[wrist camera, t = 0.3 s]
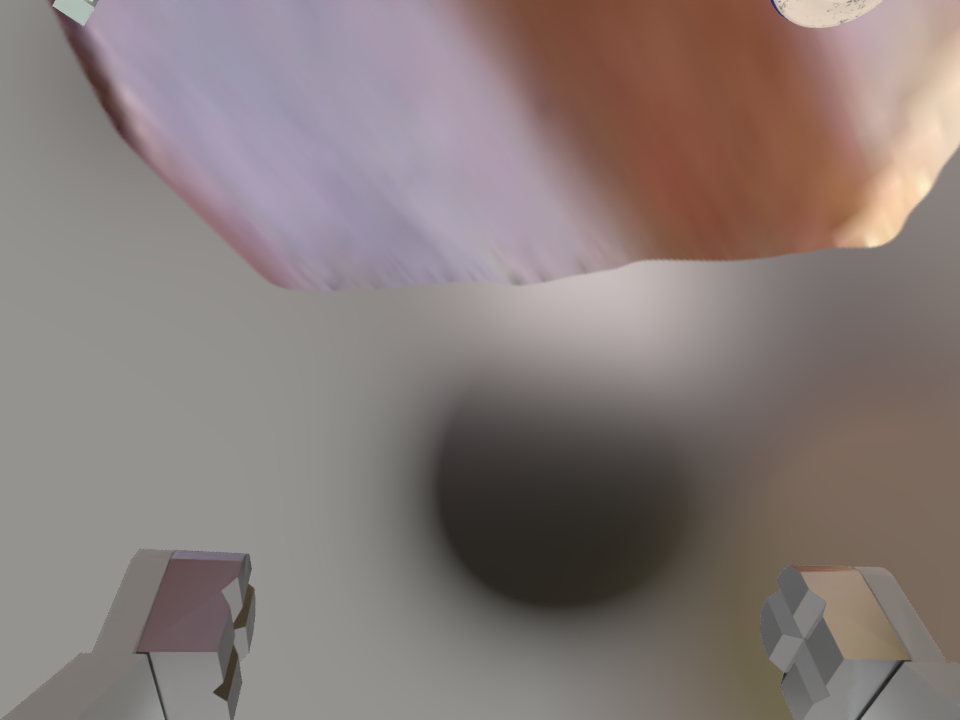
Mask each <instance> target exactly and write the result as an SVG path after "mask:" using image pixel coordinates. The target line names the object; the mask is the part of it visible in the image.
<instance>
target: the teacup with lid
mask: <svg viewBox="0 0 960 720" xmlns="http://www.w3.org/2000/svg"><path fill="white" fill-rule="evenodd" d="M882 1H883V0H771V2H772V4H773V6H774V8H775V9H776V10H777V11H778V13H779V14H780V15H781V16H783V17H784V18H785V19H787V20H789V21H790V22H793V23H795V24H797V25H800V26H804V27H809V28H826V27H833V26H837V25H841V24H844V23H847V22H849V21H852V20H854V19H856V18H858V17H860V16H862V15H864V14H865V13H867V12H868V11H870V10H872V9H873V8H874V7H876V6H877V5H878V4H880V3H881V2H882Z"/></svg>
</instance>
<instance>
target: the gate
mask: <svg viewBox="0 0 960 720" xmlns="http://www.w3.org/2000/svg"><path fill="white" fill-rule="evenodd" d="M97 2H98V0H56V1H55V3H54V4H53V7H55V8H56V9H58V10H60V11H61V12H63V13H64V14H66V15H67V16H69V17H70V18H72V19H73V20H75V21H76V22H78V23H80V24H81V25H83V26H84V25H85V23H86V21H87V19H88V18H89V16H90V14H91V13H92V11H93V9H94V7H95V6H96V4H97Z"/></svg>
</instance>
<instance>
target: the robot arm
mask: <svg viewBox="0 0 960 720" xmlns="http://www.w3.org/2000/svg"><path fill="white" fill-rule="evenodd" d="M251 570H252V567H251V561H250V556H249V554H243V553H224V552H223V553H222V552H204V551H183V550H155V549H139V551H138V552H137V553H136V554H135V555H134V557H133V558H132V559H131V561H130V564H129V566H128V568H127V571H126V573H125V575H124V578H123V580H122V582H121V585H120V587H119V590H118V592H117V594H116V597H115V599H114V601H113V604H112V606H111V608H110V611H109V613H108V615H107V618H106V620H105V622H104V625H103V627H102V630H101V632H100V634H99V637H98V639H97V641H96V644H95V646H94V648H93V651H92V653H80V654H79V655H77V657H75V658H74V659H73V660H71V661H70V662H69V663H68V664H67V665H66V666H64V667H63V668H62V669H61V670H59V671H58V672H57V673H56V674H55V675H53V676H52V677H51V678H50V679H49V680H48V681H46V682H45V683H44V684H43V685H42V686H40V687H39V688H38V689H37V690H36V691H34V692H33V693H32V694H31V695H30V696H28V697H27V698H26V699H25V700H24V701H22V702H21V703H20V704H19V705H18V706H16V707H15V708H14V709H13V710H12V711H10V712H9V713H8V714H7V715H6V716H5V717H3V718H2V719H1V720H234V716H235V711H236V707H237V703H238V698H239V694H240V690H241V686H242V677H241V671H240V661H242V659H243V658H245V657H246V656H247V655H248V653H249V651H250V646H251V641H252V636H253V630H254V622H255V605H256V604H255V603H256V602H255V590H254V588H253V587H252V586H251V585H250V584H249V583H248V582H249V578H250V574H251ZM777 582H778V584H779V586H780V589H781V590H780V591H778V592H776V593H775V594H773V595H771V596H770V597H768V598H767V600H766V602H765V604H764V606H763V609H762V611H761V618H760V631H761V636H762V641H763V645H764V647H765V650H766V653H767V655H768V658H769V659H770V660H771V661H772V662H773V663H774V664H775V665H776V666H777V667H779V668H780V669H781V670H782V671H783V672H784V674H783V678H782V681H781V685H780V687H781V690H782V692H783V694H784V697H785V699H786V701H787V704H788V706H789V709H790V711H791V714H792V716H793V718H794V720H960V665H959V664H958V663H957V662H947V661H946V659H945V658H944V656H943V654H942V653H941V651H940V650H939V648H938V647H937V645H936V644H935V642H934V640H933V639H932V637H931V636H930V634H929V632H928V631H927V629H926V627H925V626H924V624H923V623H922V621H921V620H920V618H919V616H918V615H917V613H916V612H915V610H914V609H913V607H912V605H911V604H910V602H909V601H908V599H907V597H906V596H905V594H904V593H903V591H902V589H901V588H900V586H899V585H898V583H897V582H896V580H895V578H894V577H893V576H892V574H891V573H890V572H888V571H887V570H886V569H885V568H881V567H880V568H879V567H848V566H802V565H800V566H799V565H790V566H788V567H786V568H785V569H783V570H782V571H781V573H780V575H779V577H778V579H777Z"/></svg>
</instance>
